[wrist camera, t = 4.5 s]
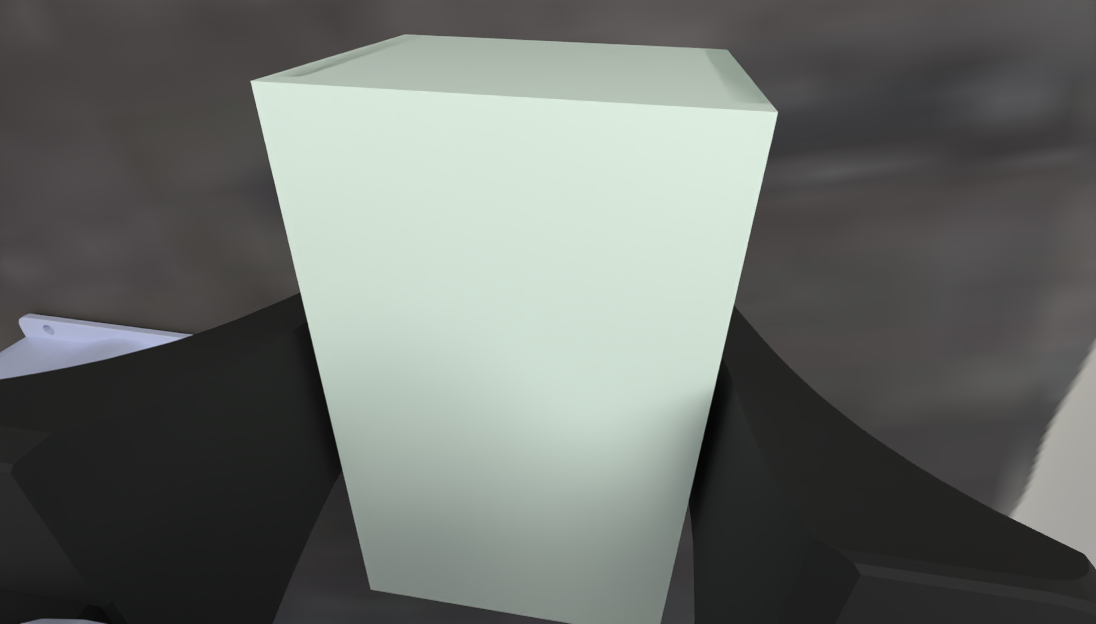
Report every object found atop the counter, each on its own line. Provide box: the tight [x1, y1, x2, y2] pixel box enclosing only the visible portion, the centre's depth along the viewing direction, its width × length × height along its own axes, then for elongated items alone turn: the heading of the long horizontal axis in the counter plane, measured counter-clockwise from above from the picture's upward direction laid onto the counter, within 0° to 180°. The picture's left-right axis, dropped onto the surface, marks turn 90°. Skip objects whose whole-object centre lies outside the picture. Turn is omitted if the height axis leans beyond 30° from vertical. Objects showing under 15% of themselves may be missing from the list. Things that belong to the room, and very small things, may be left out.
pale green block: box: [251, 34, 778, 624], centre depth 11 cm, size 6×10×5 cm, turn 179°
